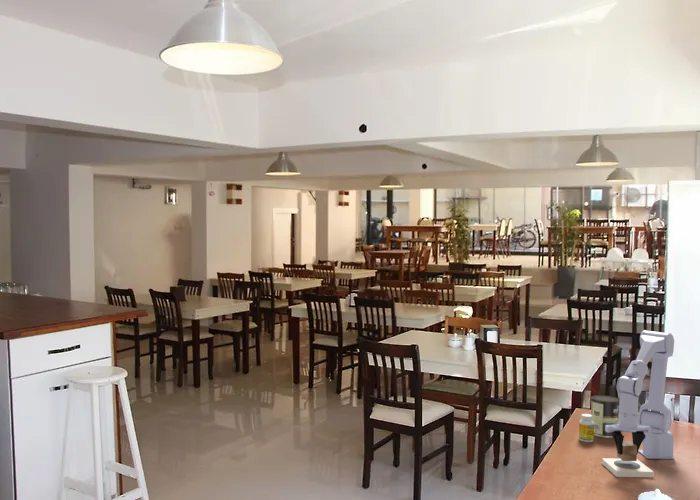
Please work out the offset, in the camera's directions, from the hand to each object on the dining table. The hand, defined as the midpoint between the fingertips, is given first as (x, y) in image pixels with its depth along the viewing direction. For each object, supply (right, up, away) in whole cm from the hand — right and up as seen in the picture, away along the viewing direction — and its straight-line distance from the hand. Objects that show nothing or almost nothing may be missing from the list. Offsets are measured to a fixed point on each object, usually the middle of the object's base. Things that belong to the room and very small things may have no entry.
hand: (627, 453), depth 215 cm
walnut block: (0, -2, 0) cm, 2 cm away
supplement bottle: (-2, -5, +31) cm, 32 cm away
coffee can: (+8, -5, +39) cm, 40 cm away
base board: (0, -6, 0) cm, 6 cm away
